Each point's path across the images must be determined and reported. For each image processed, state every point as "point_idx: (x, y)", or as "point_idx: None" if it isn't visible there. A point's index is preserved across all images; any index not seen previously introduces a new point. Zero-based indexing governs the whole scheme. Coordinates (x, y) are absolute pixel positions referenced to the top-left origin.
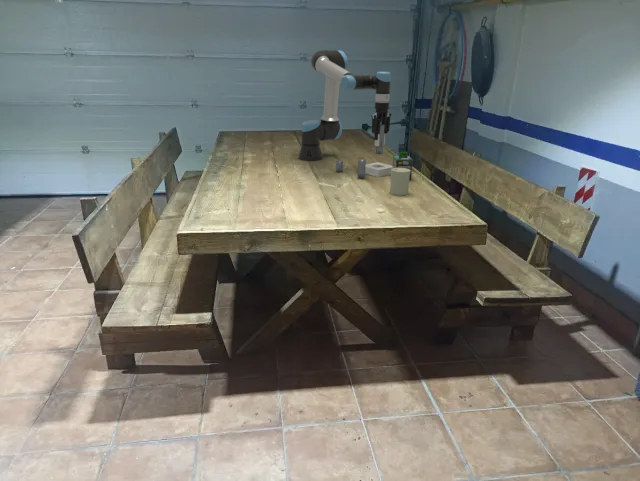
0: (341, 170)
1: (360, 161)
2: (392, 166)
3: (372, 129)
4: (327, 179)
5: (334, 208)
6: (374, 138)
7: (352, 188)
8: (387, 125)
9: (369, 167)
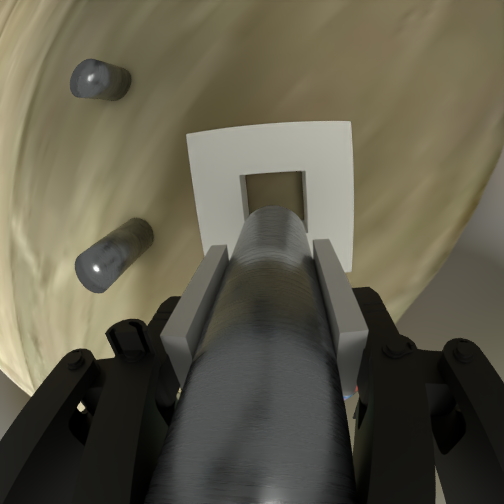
0: (110, 99)
1: (82, 278)
2: (340, 258)
3: (48, 399)
4: (35, 188)
5: (32, 367)
6: (160, 308)
7: (70, 315)
8: (451, 484)
9: (200, 206)
